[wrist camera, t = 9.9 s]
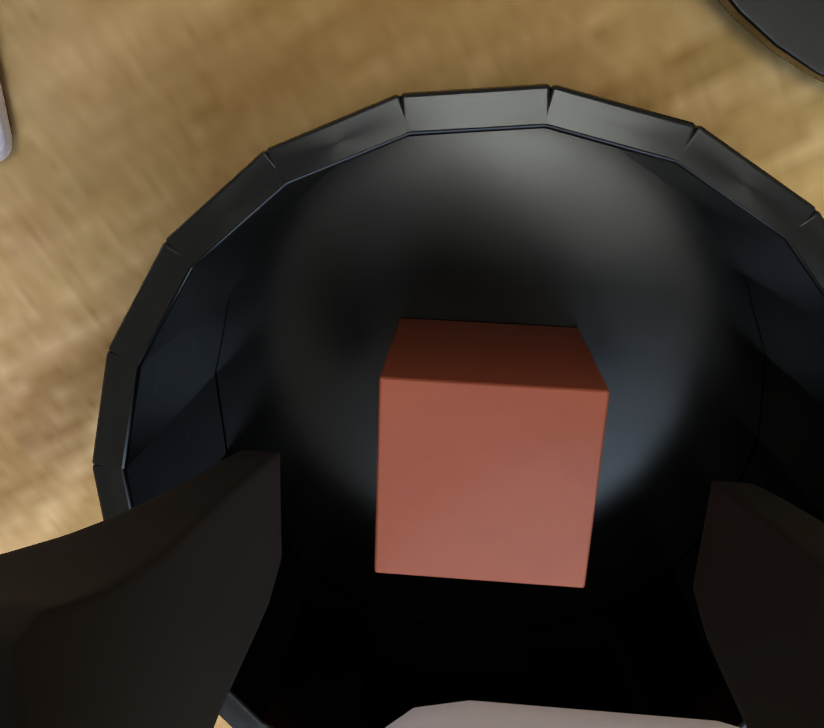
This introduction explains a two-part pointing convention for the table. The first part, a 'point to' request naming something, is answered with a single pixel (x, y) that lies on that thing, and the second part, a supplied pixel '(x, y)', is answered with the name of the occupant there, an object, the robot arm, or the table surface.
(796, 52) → the tin lid
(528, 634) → the tin
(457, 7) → the table surface
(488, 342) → the block
